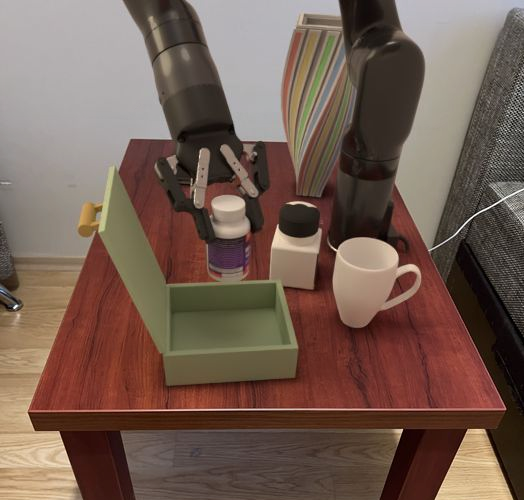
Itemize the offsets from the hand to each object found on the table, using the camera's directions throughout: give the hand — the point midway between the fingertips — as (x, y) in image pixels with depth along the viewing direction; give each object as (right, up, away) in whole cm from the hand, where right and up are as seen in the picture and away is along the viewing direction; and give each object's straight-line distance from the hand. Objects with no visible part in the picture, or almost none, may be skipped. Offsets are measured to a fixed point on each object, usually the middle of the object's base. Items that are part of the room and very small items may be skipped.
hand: (234, 236), depth 64 cm
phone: (-13, +25, +50) cm, 58 cm away
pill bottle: (-1, -4, +6) cm, 7 cm away
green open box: (-2, -13, +11) cm, 17 cm away
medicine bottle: (+8, -2, +24) cm, 25 cm away
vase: (+13, +19, +45) cm, 51 cm away
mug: (+19, -9, +16) cm, 26 cm away
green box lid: (-11, -3, 0) cm, 11 cm away
